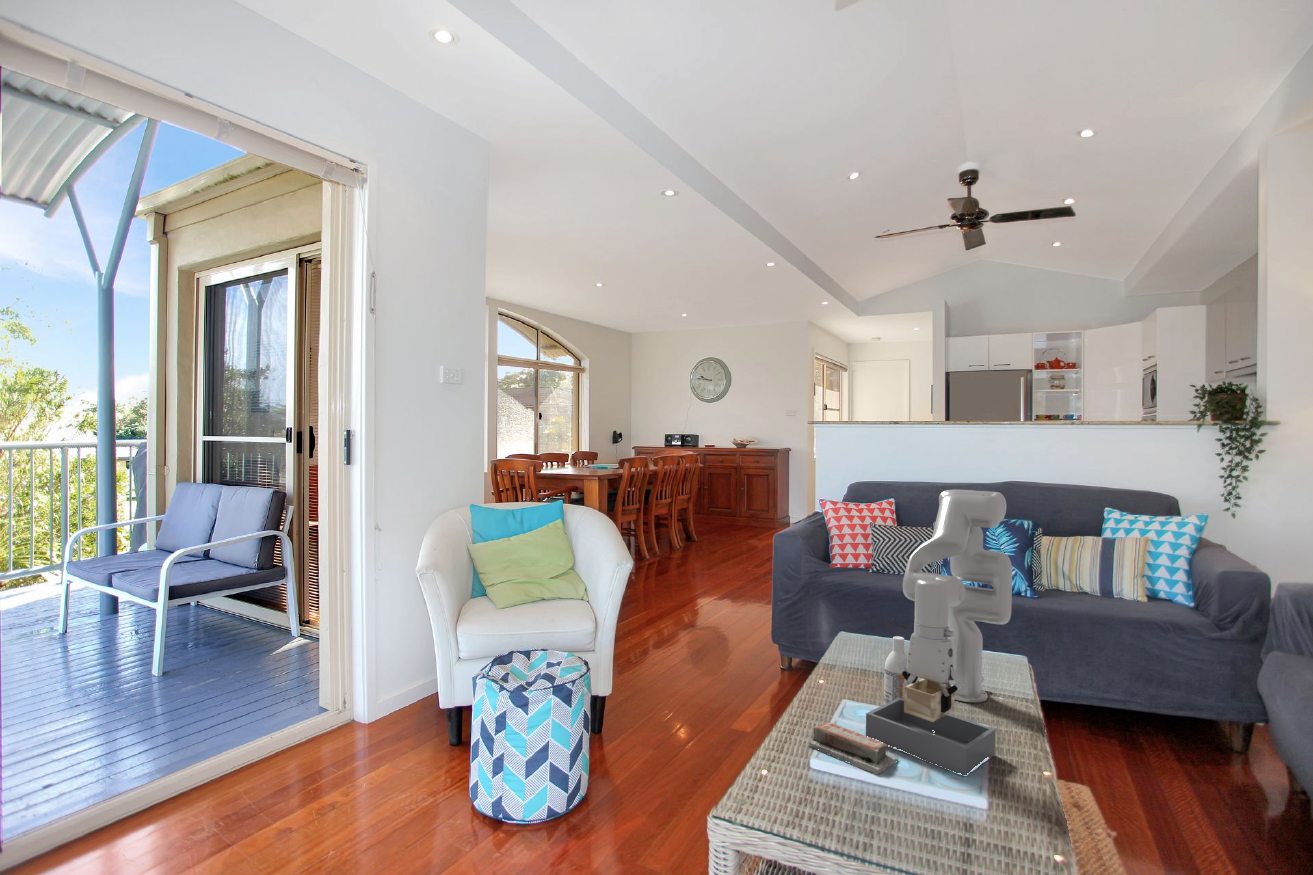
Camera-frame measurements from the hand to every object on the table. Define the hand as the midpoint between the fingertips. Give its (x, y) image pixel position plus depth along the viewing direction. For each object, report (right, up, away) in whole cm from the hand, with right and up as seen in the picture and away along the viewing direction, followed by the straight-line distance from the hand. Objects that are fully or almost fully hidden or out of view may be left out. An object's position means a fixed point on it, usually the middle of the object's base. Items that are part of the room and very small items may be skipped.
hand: (929, 705), depth 155 cm
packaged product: (-20, -10, -4) cm, 23 cm away
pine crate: (0, -1, 0) cm, 1 cm away
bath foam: (0, -10, +20) cm, 22 cm away
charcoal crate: (0, -10, 0) cm, 10 cm away
